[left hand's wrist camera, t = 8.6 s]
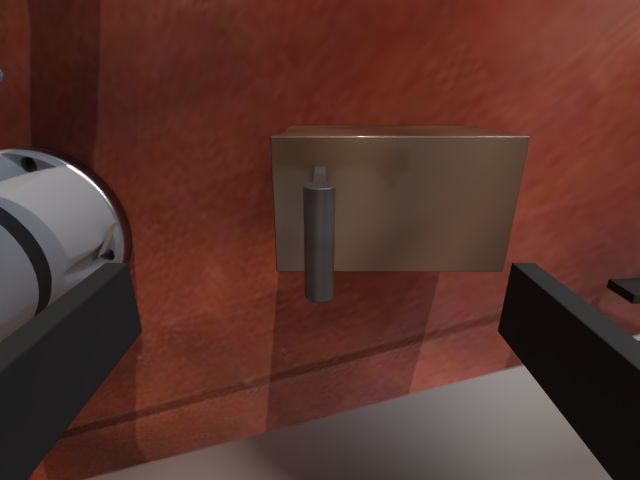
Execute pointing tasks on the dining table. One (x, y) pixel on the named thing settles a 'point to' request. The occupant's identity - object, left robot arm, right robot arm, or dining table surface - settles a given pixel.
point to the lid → (393, 203)
